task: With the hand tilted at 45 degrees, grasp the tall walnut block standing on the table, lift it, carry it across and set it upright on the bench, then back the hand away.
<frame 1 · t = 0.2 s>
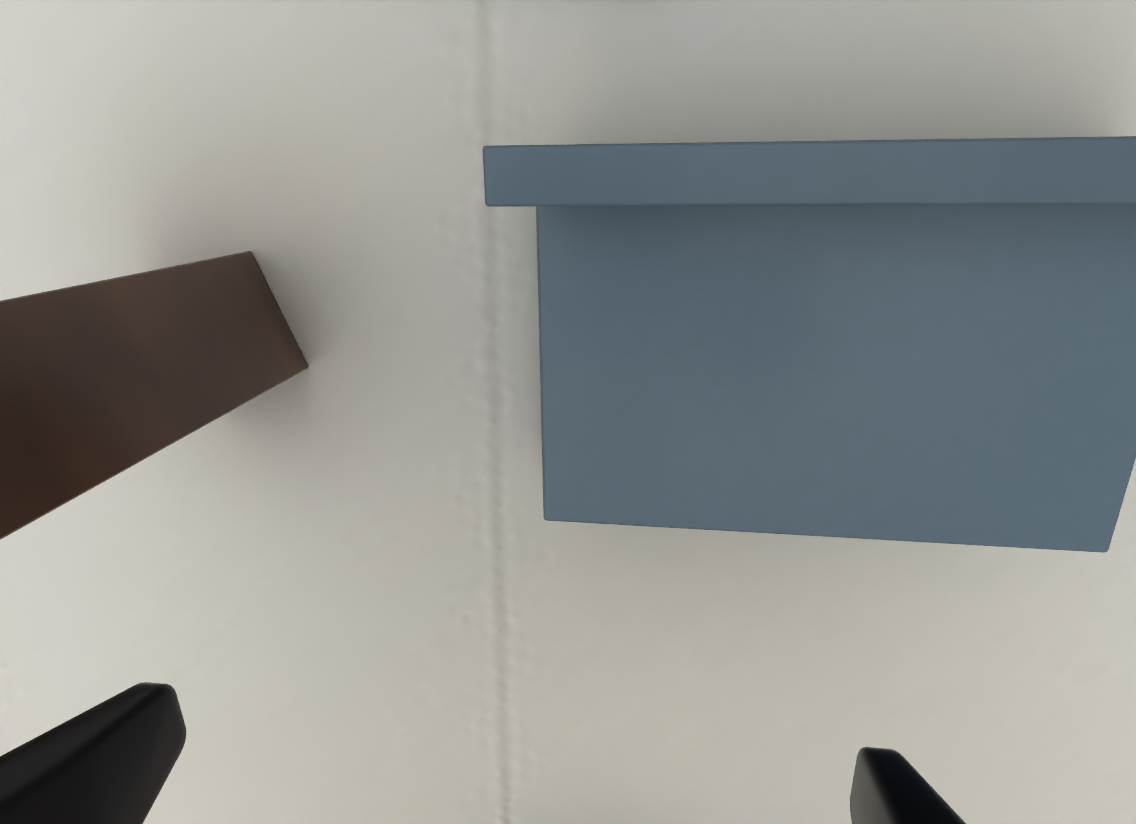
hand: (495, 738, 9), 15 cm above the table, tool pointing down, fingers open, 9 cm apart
block: (230, 330, 23), on the table
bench: (803, 327, 21), on the table
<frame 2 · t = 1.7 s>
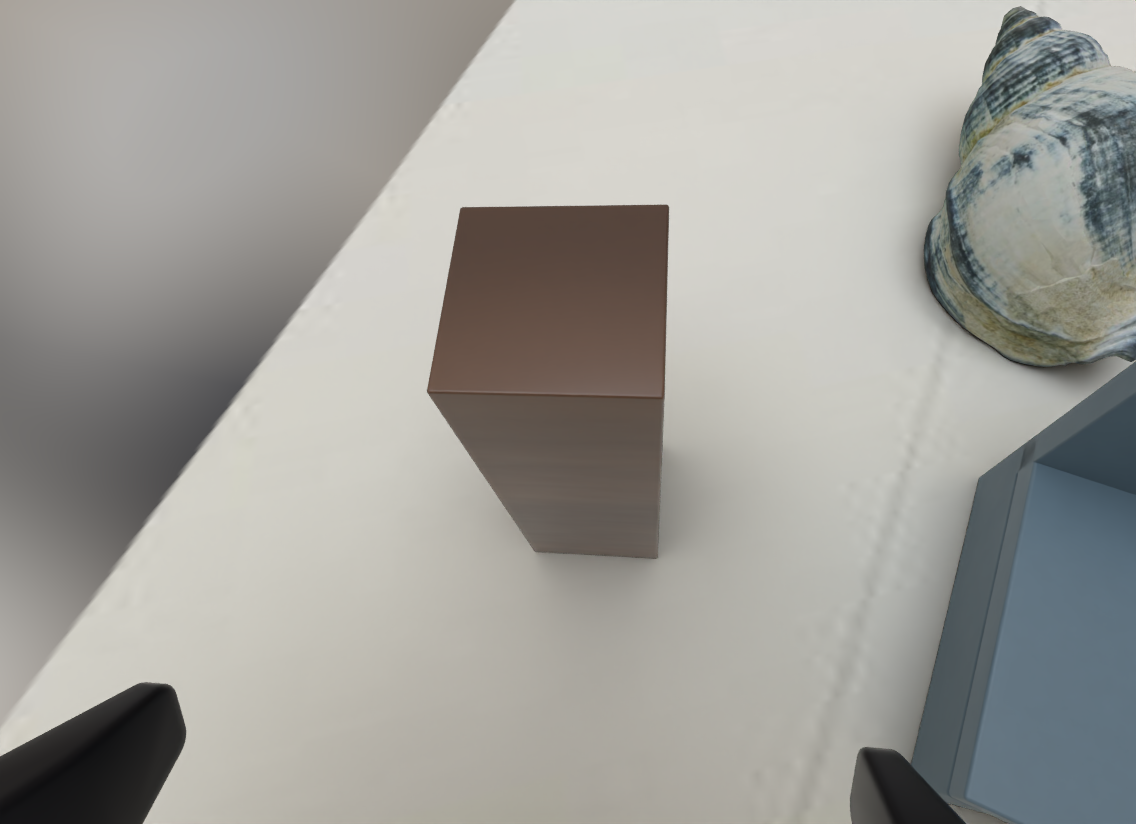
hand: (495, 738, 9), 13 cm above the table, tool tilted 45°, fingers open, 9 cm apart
block: (599, 496, 24), on the table
seashell: (1019, 238, 27), on the table
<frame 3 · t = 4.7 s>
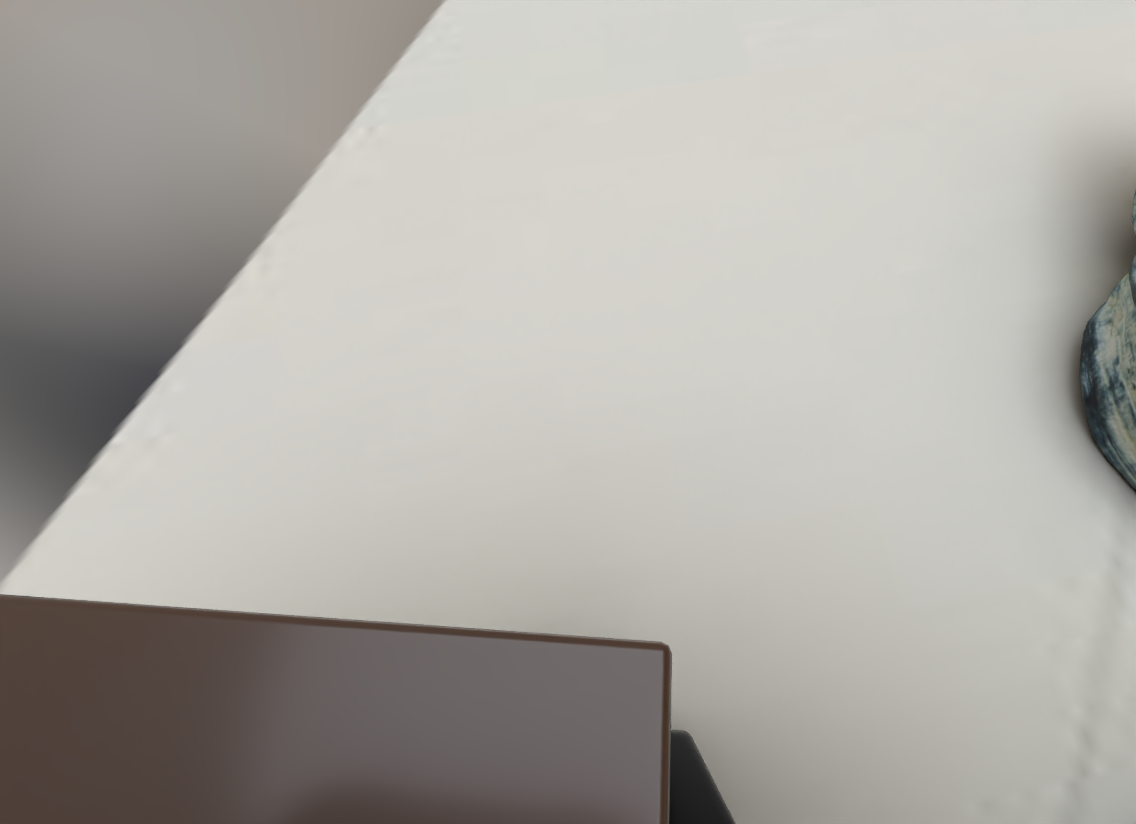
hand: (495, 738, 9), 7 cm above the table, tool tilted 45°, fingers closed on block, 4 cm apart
block: (551, 805, 14), on the table, touching gripper
when the fingers open (11 cm above the table, at t = 11.7 s): block stays where it is, resting on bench.
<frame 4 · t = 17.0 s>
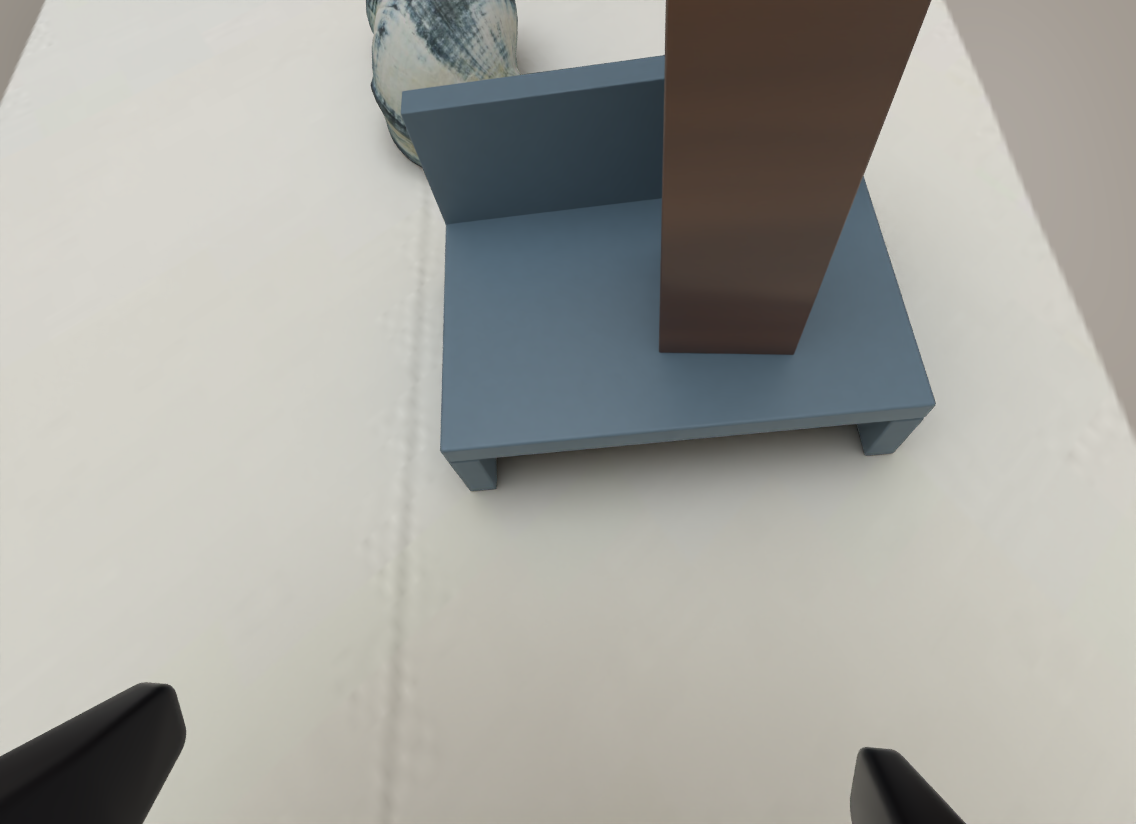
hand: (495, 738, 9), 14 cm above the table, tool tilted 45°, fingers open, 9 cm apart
block: (724, 298, 22), point 4 cm above the table, touching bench
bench: (660, 351, 26), on the table
seashell: (463, 99, 34), on the table
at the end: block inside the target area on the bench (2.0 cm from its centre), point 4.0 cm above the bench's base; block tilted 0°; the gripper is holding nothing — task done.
